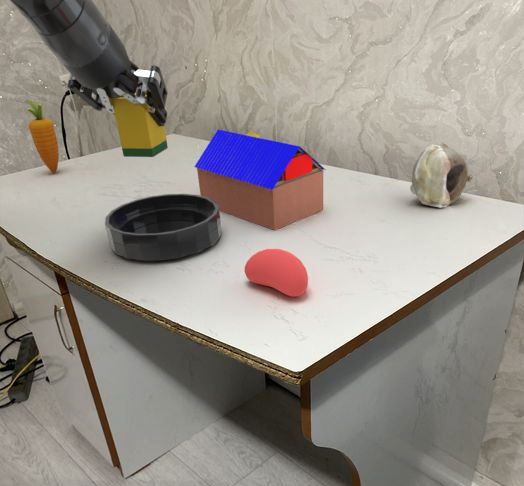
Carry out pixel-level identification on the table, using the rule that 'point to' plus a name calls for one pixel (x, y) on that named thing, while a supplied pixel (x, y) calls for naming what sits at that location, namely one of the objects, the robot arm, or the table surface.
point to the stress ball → (278, 271)
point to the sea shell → (439, 176)
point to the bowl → (163, 226)
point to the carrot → (44, 137)
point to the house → (260, 179)
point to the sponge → (138, 130)
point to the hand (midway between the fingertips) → (146, 120)
